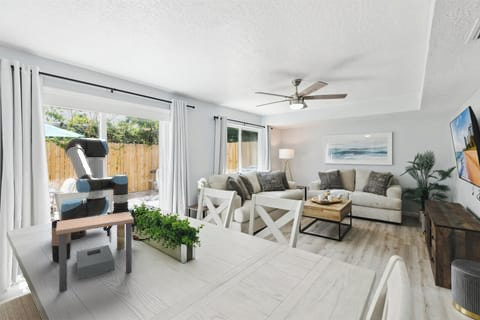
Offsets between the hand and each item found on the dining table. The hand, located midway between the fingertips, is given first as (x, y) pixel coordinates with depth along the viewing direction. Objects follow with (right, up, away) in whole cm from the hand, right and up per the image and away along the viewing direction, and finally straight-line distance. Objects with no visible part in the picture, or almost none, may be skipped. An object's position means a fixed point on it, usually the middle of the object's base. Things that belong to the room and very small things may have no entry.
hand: (120, 239), depth 130 cm
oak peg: (0, -5, 0) cm, 5 cm away
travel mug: (-23, -5, -15) cm, 28 cm away
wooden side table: (+4, -6, -28) cm, 29 cm away
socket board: (-2, -5, -20) cm, 21 cm away
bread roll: (+5, -5, +17) cm, 18 cm away
